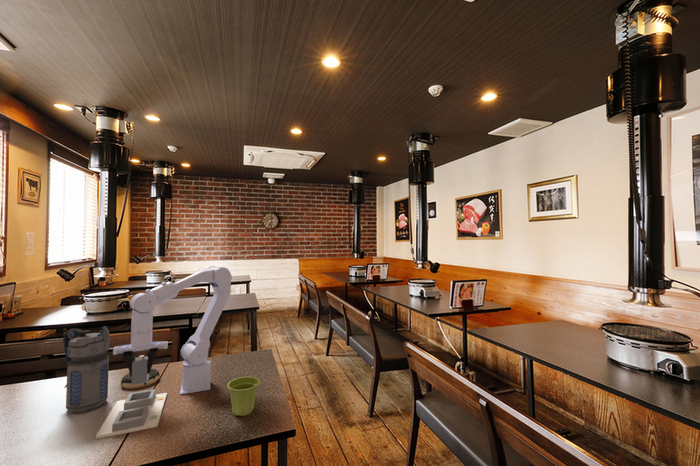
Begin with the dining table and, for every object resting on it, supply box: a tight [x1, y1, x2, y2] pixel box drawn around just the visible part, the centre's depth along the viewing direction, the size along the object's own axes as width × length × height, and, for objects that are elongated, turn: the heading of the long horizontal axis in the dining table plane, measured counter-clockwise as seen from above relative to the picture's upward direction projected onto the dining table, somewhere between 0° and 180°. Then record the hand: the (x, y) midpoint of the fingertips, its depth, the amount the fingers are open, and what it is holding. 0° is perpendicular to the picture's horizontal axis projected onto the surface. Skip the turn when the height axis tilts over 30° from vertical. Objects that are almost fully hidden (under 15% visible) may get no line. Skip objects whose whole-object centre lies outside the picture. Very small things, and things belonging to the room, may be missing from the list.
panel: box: [95, 388, 168, 440], centre depth 94 cm, size 14×20×3 cm
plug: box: [132, 354, 149, 385], centre depth 99 cm, size 4×4×8 cm
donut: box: [120, 368, 160, 390], centre depth 115 cm, size 11×12×4 cm
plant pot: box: [227, 376, 260, 417], centre depth 96 cm, size 9×9×9 cm
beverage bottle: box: [62, 325, 111, 414], centre depth 99 cm, size 10×13×25 cm
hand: (140, 373), depth 99 cm, fingers closed on plug, 4 cm apart
